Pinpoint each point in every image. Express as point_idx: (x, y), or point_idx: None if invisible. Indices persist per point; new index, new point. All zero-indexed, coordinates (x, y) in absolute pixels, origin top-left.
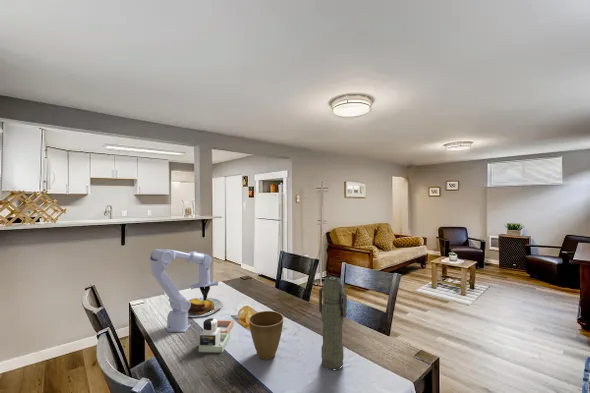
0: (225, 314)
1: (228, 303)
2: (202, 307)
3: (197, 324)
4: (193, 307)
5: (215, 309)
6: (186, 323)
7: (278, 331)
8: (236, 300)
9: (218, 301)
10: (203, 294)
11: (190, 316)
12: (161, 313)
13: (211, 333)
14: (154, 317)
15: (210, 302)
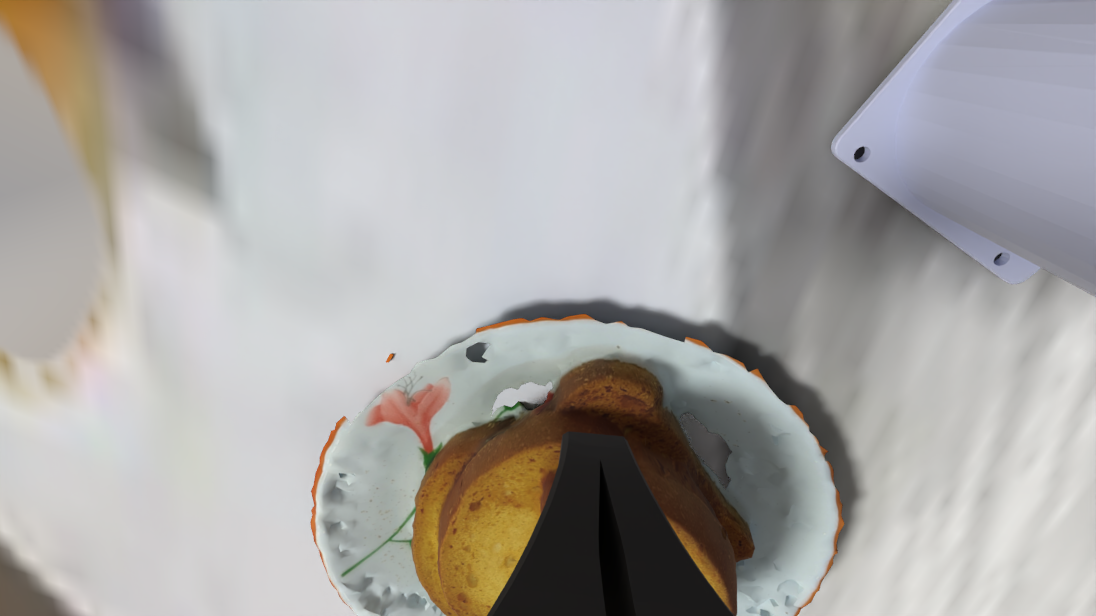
0: (299, 259)
1: (255, 519)
2: None
3: (735, 123)
4: (701, 505)
5: (412, 435)
6: (1021, 22)
7: None
8: (165, 545)
9: (353, 569)
10: (673, 576)
11: (754, 375)
12: (950, 595)
13: None
14: (1056, 550)
15: (451, 542)
